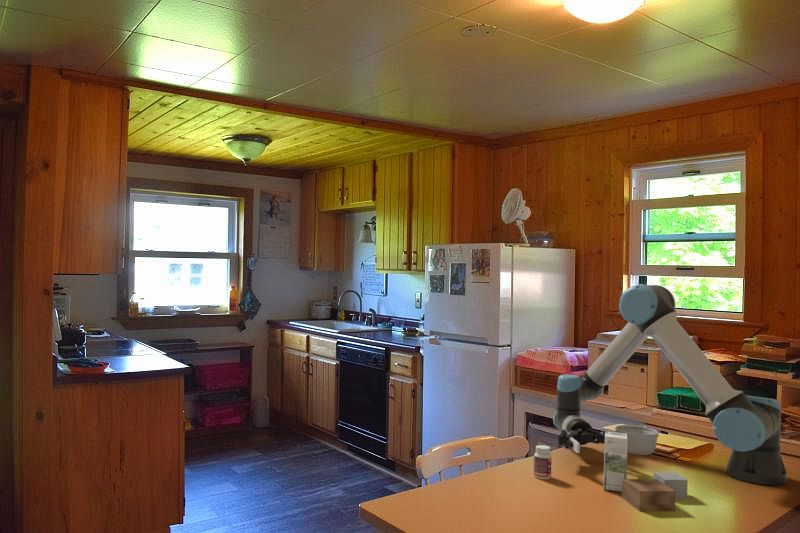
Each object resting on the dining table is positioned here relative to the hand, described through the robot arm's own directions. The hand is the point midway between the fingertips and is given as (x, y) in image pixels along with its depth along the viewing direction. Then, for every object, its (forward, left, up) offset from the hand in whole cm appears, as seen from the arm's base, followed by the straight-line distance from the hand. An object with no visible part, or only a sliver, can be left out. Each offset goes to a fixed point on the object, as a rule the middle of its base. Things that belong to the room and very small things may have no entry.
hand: (602, 448), depth 175 cm
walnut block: (-4, +20, -8) cm, 22 cm away
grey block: (-13, +13, -8) cm, 20 cm away
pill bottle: (+17, 0, -8) cm, 19 cm away
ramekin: (-22, -29, -8) cm, 37 cm away
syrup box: (0, +9, -8) cm, 12 cm away
